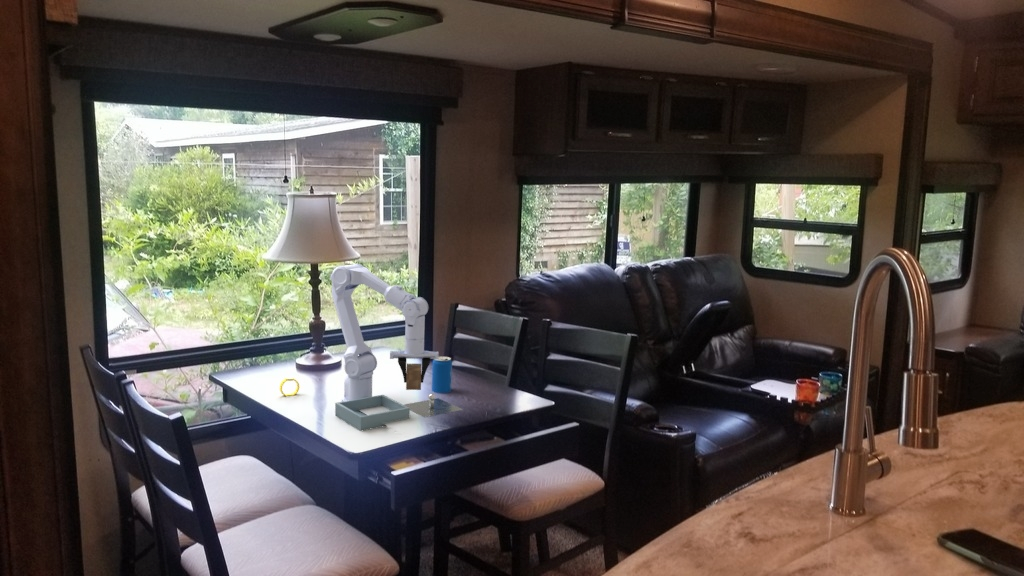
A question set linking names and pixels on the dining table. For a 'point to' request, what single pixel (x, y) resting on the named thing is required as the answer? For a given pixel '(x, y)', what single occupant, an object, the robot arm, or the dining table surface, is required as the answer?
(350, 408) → the bin
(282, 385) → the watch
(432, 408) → the stud base
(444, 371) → the beverage can
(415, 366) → the brown wooden block
